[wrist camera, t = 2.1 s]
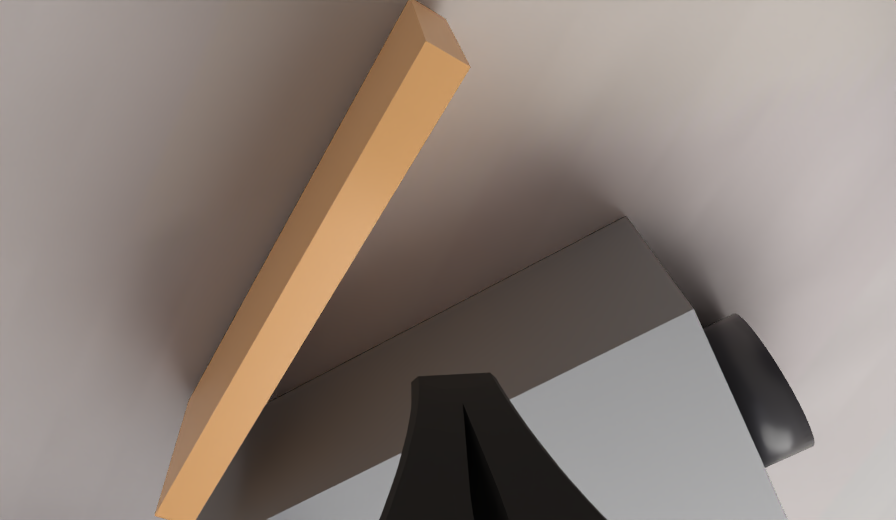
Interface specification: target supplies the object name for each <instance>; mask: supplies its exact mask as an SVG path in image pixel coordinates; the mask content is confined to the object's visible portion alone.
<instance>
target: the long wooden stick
mask: <svg viewBox="0 0 896 520" xmlns="http://www.w3.org/2000/svg"><path fill="white" fill-rule="evenodd" d="M469 69H470V65H469V63H468V61H467V59H466V57H465V55H464V53H463V52H462V50H461V48H460V46H459V44H458V42H457V40H456V38H455V36H454V34H453V32H452V30H451V29H450V27H449V25H448V23H447V21H446V19H445V18H443V17H442V16H440V15H439V14H437V13H435V12H434V11H432V10H430V9H429V8H427V7H425V6H424V5H422V4H420V3H419V2H417V1H415V0H408V2H407V4H406V6H405V8H404V9H403V11H402V13H401V15H400V17H399V18H398V20H397V22H396V24H395V26H394V28H393V29H392V31H391V33H390V35H389V37H388V38H387V40H386V42H385V44H384V46H383V48H382V49H381V51H380V53H379V55H378V57H377V59H376V60H375V62H374V64H373V66H372V68H371V69H370V71H369V73H368V75H367V77H366V79H365V80H364V82H363V84H362V86H361V88H360V90H359V91H358V93H357V95H356V97H355V99H354V100H353V102H352V104H351V106H350V108H349V110H348V111H347V113H346V115H345V117H344V119H343V121H342V122H341V124H340V126H339V128H338V130H337V131H336V133H335V135H334V137H333V139H332V141H331V142H330V144H329V146H328V148H327V150H326V151H325V153H324V155H323V157H322V159H321V161H320V162H319V164H318V166H317V168H316V170H315V172H314V173H313V175H312V177H311V179H310V181H309V182H308V184H307V186H306V188H305V190H304V192H303V193H302V195H301V197H300V199H299V201H298V203H297V204H296V206H295V208H294V210H293V212H292V213H291V215H290V217H289V219H288V221H287V223H286V224H285V226H284V228H283V230H282V232H281V234H280V235H279V237H278V239H277V241H276V243H275V244H274V246H273V248H272V250H271V252H270V254H269V255H268V257H267V259H266V261H265V263H264V264H263V266H262V268H261V270H260V272H259V274H258V275H257V277H256V279H255V281H254V283H253V285H252V286H251V288H250V290H249V292H248V294H247V295H246V297H245V299H244V301H243V303H242V305H241V306H240V308H239V310H238V312H237V314H236V316H235V317H234V319H233V321H232V323H231V325H230V326H229V328H228V330H227V332H226V334H225V336H224V337H223V339H222V341H221V343H220V345H219V347H218V348H217V350H216V352H215V354H214V356H213V357H212V359H211V361H210V363H209V365H208V367H207V368H206V370H205V372H204V374H203V376H202V377H201V379H200V381H199V383H198V385H197V387H196V388H195V390H194V392H193V394H192V396H191V398H190V399H189V401H188V404H187V408H186V411H185V415H184V418H183V421H182V425H181V428H180V431H179V435H178V438H177V441H176V445H175V448H174V452H173V455H172V458H171V462H170V465H169V468H168V472H167V475H166V479H165V482H164V485H163V489H162V492H161V495H160V499H159V502H158V505H157V509H156V512H155V516H157V517H161V518H164V519H168V520H196V518H197V517H198V515H199V514H200V512H201V510H202V509H203V507H204V505H205V504H206V502H207V500H208V499H209V497H210V495H211V494H212V492H213V490H214V489H215V487H216V486H217V484H218V482H219V481H220V479H221V477H222V476H223V474H224V472H225V471H226V469H227V467H228V466H229V464H230V462H231V461H232V459H233V458H234V456H235V454H236V453H237V451H238V449H239V448H240V446H241V444H242V443H243V441H244V439H245V438H246V436H247V434H248V433H249V431H250V430H251V428H252V426H253V425H254V423H255V421H256V420H257V418H258V416H259V415H260V413H261V411H262V410H263V408H264V406H265V405H266V403H267V402H268V400H269V398H270V397H271V395H272V393H273V392H274V390H275V388H276V387H277V385H278V383H279V382H280V380H281V378H282V377H283V375H284V374H285V372H286V370H287V369H288V367H289V365H290V364H291V362H292V360H293V359H294V357H295V355H296V354H297V352H298V350H299V349H300V347H301V346H302V344H303V342H304V341H305V339H306V337H307V336H308V334H309V332H310V331H311V329H312V327H313V326H314V324H315V322H316V321H317V319H318V318H319V316H320V314H321V313H322V311H323V309H324V308H325V306H326V304H327V303H328V301H329V299H330V298H331V296H332V294H333V293H334V291H335V290H336V288H337V286H338V285H339V283H340V281H341V280H342V278H343V276H344V275H345V273H346V271H347V270H348V268H349V266H350V265H351V263H352V262H353V260H354V258H355V257H356V255H357V253H358V252H359V250H360V248H361V247H362V245H363V243H364V242H365V240H366V238H367V237H368V235H369V234H370V232H371V230H372V229H373V227H374V225H375V224H376V222H377V220H378V219H379V217H380V215H381V214H382V212H383V210H384V209H385V207H386V206H387V204H388V202H389V201H390V199H391V197H392V196H393V194H394V192H395V191H396V189H397V187H398V186H399V184H400V182H401V181H402V179H403V177H404V176H405V174H406V173H407V171H408V169H409V168H410V166H411V164H412V163H413V161H414V159H415V158H416V156H417V154H418V153H419V151H420V149H421V148H422V146H423V145H424V143H425V141H426V140H427V138H428V136H429V135H430V133H431V131H432V130H433V128H434V126H435V125H436V123H437V121H438V120H439V118H440V117H441V115H442V113H443V112H444V110H445V108H446V107H447V105H448V103H449V102H450V100H451V98H452V97H453V95H454V93H455V92H456V90H457V89H458V87H459V85H460V84H461V82H462V80H463V79H464V77H465V75H466V74H467V72H468V70H469Z"/></svg>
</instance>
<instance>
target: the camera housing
mask: <svg viewBox="0 0 896 520" xmlns="http://www.w3.org/2000/svg"><path fill="white" fill-rule="evenodd" d="M489 372H490V373H491V374H492V375H493V376H495V377H496V379H497V380H498V382H499V384H500V385H501V387H502V389H503V390H504V392H505V393H506V395H507V397H508V398H509V400H510V401H511V403H512V404H513V406H514V407H515V409H516V410H517V412H518V413H519V414H520V416H521V417H522V419H523V420H524V421H525V423H526V424H527V426H528V427H529V428H530V430H531V431H532V433H533V434H534V435H535V437H536V438H537V439H538V440H539V442H540V443H541V444H542V446H543V447H544V448H545V449H546V451H547V452H548V453H549V454H550V456H551V457H552V458H553V459H554V461H555V462H556V463H557V465H558V466H559V467H560V468H561V469H562V470H563V472H564V473H565V474H566V475H567V476H568V478H569V479H570V480H571V481H572V482H573V483H574V484H575V486H576V487H577V488H578V489H579V490H580V491H581V492H582V493H583V494H584V496H585V497H586V498H587V499H588V500H589V501H590V502H591V503H592V504H593V505H594V506H595V508H596V509H597V510H598V511H599V512H600V513H601V514H602V515H603V516H604V517H605V518H606V519H607V520H788V518H787V516H786V514H785V511H784V509H783V507H782V505H781V503H780V500H779V498H778V496H777V494H776V491H775V489H774V487H773V485H772V482H771V480H770V478H769V476H768V473H767V471H766V469H765V467H768V466H770V465H772V464H774V463H777V462H779V461H781V460H783V459H786V458H788V457H790V456H792V455H794V454H797V453H799V452H801V451H803V450H806V449H808V448H810V447H812V446H814V438H813V434H812V431H811V428H810V426H809V423H808V421H807V419H806V417H805V414H804V412H803V410H802V408H801V406H800V404H799V402H798V400H797V398H796V396H795V395H794V393H793V391H792V389H791V387H790V386H789V384H788V382H787V380H786V379H785V377H784V375H783V374H782V372H781V370H780V369H779V367H778V366H777V364H776V362H775V361H774V359H773V358H772V356H771V355H770V353H769V352H768V350H767V349H766V347H765V346H764V344H763V343H762V342H761V340H760V339H759V338H758V336H757V335H756V334H755V332H754V331H753V330H752V328H751V327H750V326H749V325H748V324H747V323H746V322H745V321H744V320H743V319H742V318H741V317H740V316H739V315H737V314H732V315H730V316H728V317H726V318H724V319H722V320H720V321H718V322H716V323H714V324H712V325H710V326H708V327H706V328H704V329H703V328H702V326H701V324H700V321H699V319H698V317H697V315H696V313H695V310H694V308H693V307H692V306H691V304H690V303H689V302H688V300H687V299H686V297H685V296H684V295H683V293H682V292H681V291H680V289H679V288H678V286H677V285H676V284H675V282H674V281H673V280H672V278H671V277H670V276H669V274H668V273H667V271H666V270H665V269H664V267H663V266H662V265H661V263H660V262H659V260H658V259H657V258H656V256H655V255H654V254H653V252H652V251H651V250H650V248H649V247H648V245H647V244H646V243H645V241H644V240H643V239H642V237H641V236H640V234H639V233H638V232H637V230H636V229H635V228H634V226H633V225H632V224H631V222H630V221H629V219H628V218H627V217H626V216H625V217H623V218H621V219H620V220H618V221H616V222H614V223H612V224H610V225H608V226H606V227H604V228H602V229H600V230H598V231H597V232H595V233H593V234H591V235H589V236H587V237H585V238H583V239H581V240H579V241H577V242H575V243H574V244H572V245H570V246H568V247H566V248H564V249H562V250H560V251H558V252H556V253H554V254H553V255H551V256H549V257H547V258H545V259H543V260H541V261H539V262H537V263H535V264H533V265H531V266H530V267H528V268H526V269H524V270H522V271H520V272H518V273H516V274H514V275H512V276H510V277H508V278H507V279H505V280H503V281H501V282H499V283H497V284H495V285H493V286H491V287H489V288H487V289H485V290H484V291H482V292H480V293H478V294H476V295H474V296H472V297H470V298H468V299H466V300H464V301H462V302H461V303H459V304H457V305H455V306H453V307H451V308H449V309H447V310H445V311H443V312H441V313H439V314H438V315H436V316H434V317H432V318H430V319H428V320H426V321H424V322H422V323H420V324H418V325H416V326H415V327H413V328H411V329H409V330H407V331H405V332H403V333H401V334H399V335H397V336H395V337H393V338H392V339H390V340H388V341H386V342H384V343H382V344H380V345H378V346H376V347H374V348H372V349H370V350H369V351H367V352H365V353H363V354H361V355H359V356H357V357H355V358H353V359H351V360H349V361H348V362H346V363H344V364H342V365H340V366H338V367H336V368H334V369H332V370H330V371H328V372H326V373H325V374H323V375H321V376H319V377H317V378H315V379H313V380H311V381H309V382H307V383H305V384H303V385H302V386H300V387H298V388H296V389H294V390H292V391H290V392H288V393H286V394H284V395H282V396H280V397H279V398H277V399H275V400H273V401H271V402H269V403H267V404H266V405H265V406H264V408H263V410H262V411H261V413H260V415H259V416H258V418H257V420H256V421H255V423H254V425H253V426H252V428H251V430H250V431H249V433H248V434H247V436H246V438H245V439H244V441H243V443H242V444H241V446H240V448H239V449H238V451H237V453H236V454H235V456H234V458H233V459H232V461H231V462H230V464H229V466H228V467H227V469H226V471H225V472H224V474H223V476H222V477H221V479H220V481H219V482H218V484H217V486H216V487H215V489H214V490H213V492H212V494H211V495H210V497H209V499H208V500H207V502H206V504H205V505H204V507H203V509H202V510H201V512H200V514H199V515H198V517H197V518H196V520H379V519H380V516H381V514H382V511H383V509H384V506H385V503H386V500H387V497H388V494H389V491H390V489H391V486H392V483H393V480H394V477H395V474H396V471H397V468H398V464H399V461H400V457H401V453H402V449H403V446H404V442H405V438H406V434H407V429H408V424H409V418H410V412H411V382H412V381H413V380H414V379H415V378H417V377H418V376H432V375H451V374H470V373H489Z"/></svg>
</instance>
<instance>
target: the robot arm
mask: <svg viewBox="0 0 896 520" xmlns="http://www.w3.org/2000/svg"><path fill="white" fill-rule="evenodd" d="M379 520H607V519H606V518H605V517H604V516H603V515H602V514H601V513H600V512H599V511H598V510H597V509H596V508H595V506H594V505H593V504H592V503H591V502H590V501H589V500H588V499H587V498H586V497H585V496H584V494H583V493H582V492H581V491H580V490H579V489H578V488H577V487H576V486H575V484H574V483H573V482H572V481H571V480H570V479H569V478H568V476H567V475H566V474H565V473H564V472H563V470H562V469H561V468H560V467H559V466H558V465H557V463H556V462H555V461H554V459H553V458H552V457H551V456H550V454H549V453H548V452H547V451H546V449H545V448H544V447H543V446H542V444H541V443H540V442H539V440H538V439H537V438H536V437H535V435H534V434H533V433H532V431H531V430H530V428H529V427H528V426H527V424H526V423H525V421H524V420H523V419H522V417H521V416H520V414H519V413H518V412H517V410H516V409H515V407H514V406H513V404H512V403H511V401H510V400H509V398H508V397H507V395H506V393H505V392H504V390H503V389H502V387H501V385H500V384H499V382H498V380H497V379H496V377H495V376H493V375H492V374H491V373H490V372H489V373H470V374H451V375H432V376H418V377H417V378H415V379H414V380H413V381H412V382H411V412H410V418H409V424H408V429H407V434H406V438H405V442H404V446H403V449H402V453H401V457H400V461H399V464H398V468H397V471H396V474H395V477H394V480H393V483H392V486H391V489H390V491H389V494H388V497H387V500H386V503H385V506H384V509H383V511H382V514H381V516H380V519H379Z"/></svg>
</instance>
